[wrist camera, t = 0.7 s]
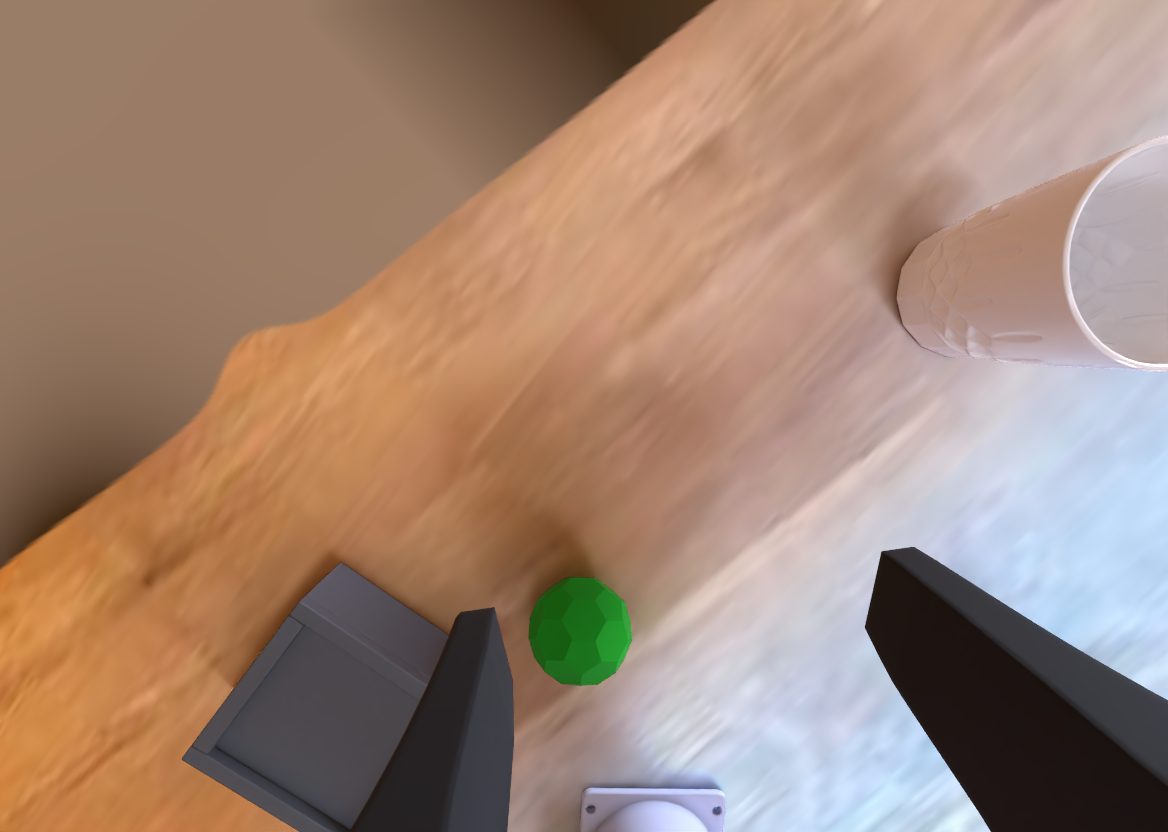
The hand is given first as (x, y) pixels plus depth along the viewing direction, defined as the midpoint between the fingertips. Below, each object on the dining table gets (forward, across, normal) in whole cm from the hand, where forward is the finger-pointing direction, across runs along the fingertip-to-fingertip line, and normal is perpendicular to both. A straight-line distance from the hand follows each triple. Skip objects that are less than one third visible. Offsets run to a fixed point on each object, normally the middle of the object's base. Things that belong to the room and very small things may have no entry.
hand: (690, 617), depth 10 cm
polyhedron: (+14, +2, +14) cm, 20 cm away
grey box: (+13, +14, +16) cm, 25 cm away
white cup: (+19, -19, +2) cm, 27 cm away
